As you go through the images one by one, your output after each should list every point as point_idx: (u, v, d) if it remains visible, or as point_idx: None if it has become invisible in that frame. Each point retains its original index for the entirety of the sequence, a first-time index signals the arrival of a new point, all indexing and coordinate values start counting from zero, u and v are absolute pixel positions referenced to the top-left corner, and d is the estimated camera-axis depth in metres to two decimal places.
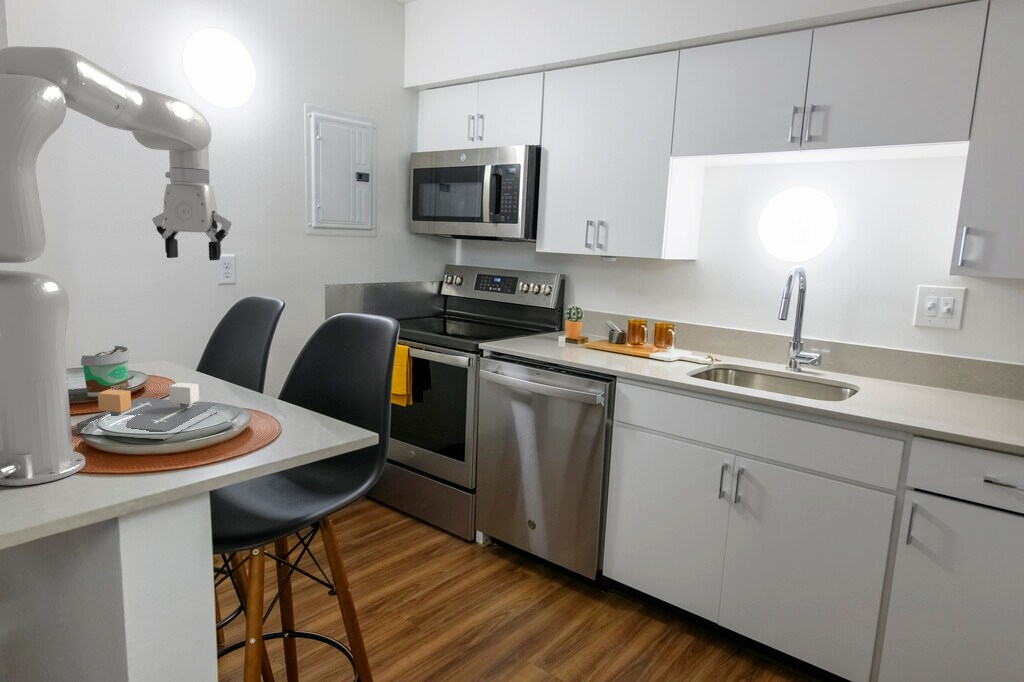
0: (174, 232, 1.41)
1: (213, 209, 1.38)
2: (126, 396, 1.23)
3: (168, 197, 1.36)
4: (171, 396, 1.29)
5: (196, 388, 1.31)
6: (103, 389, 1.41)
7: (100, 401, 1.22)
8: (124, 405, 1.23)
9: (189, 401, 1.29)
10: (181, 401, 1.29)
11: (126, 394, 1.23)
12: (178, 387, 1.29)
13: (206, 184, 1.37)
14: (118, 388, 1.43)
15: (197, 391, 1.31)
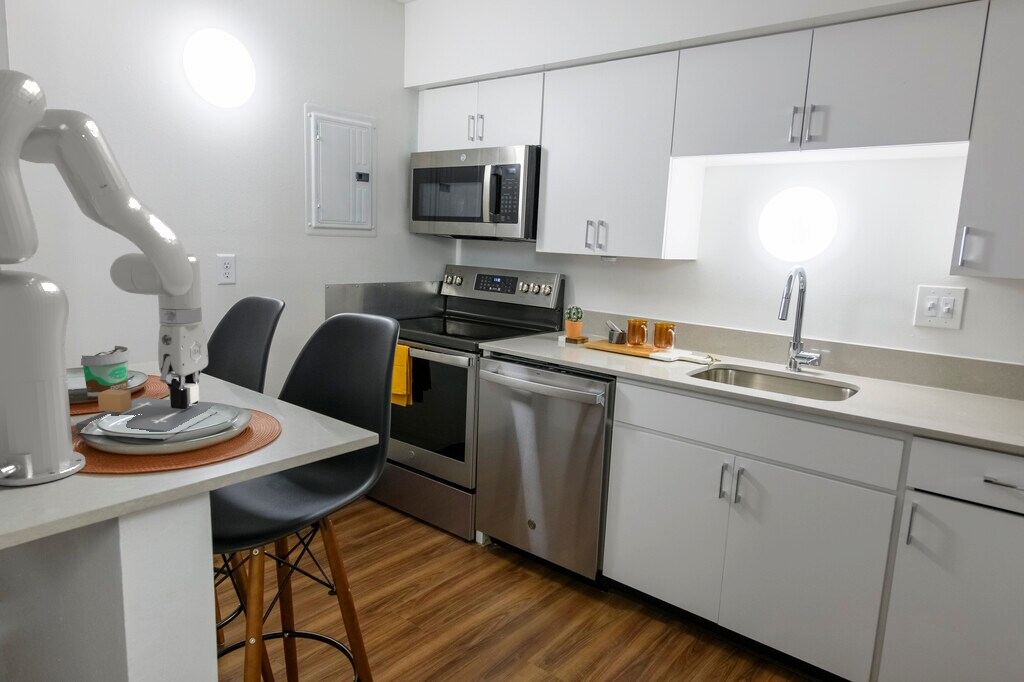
0: None
1: None
2: (126, 396, 1.23)
3: (184, 340, 1.25)
4: None
5: (196, 388, 1.31)
6: (103, 389, 1.41)
7: (100, 401, 1.22)
8: (124, 405, 1.23)
9: (189, 401, 1.29)
10: None
11: (126, 394, 1.23)
12: None
13: None
14: (118, 388, 1.43)
15: (197, 391, 1.31)
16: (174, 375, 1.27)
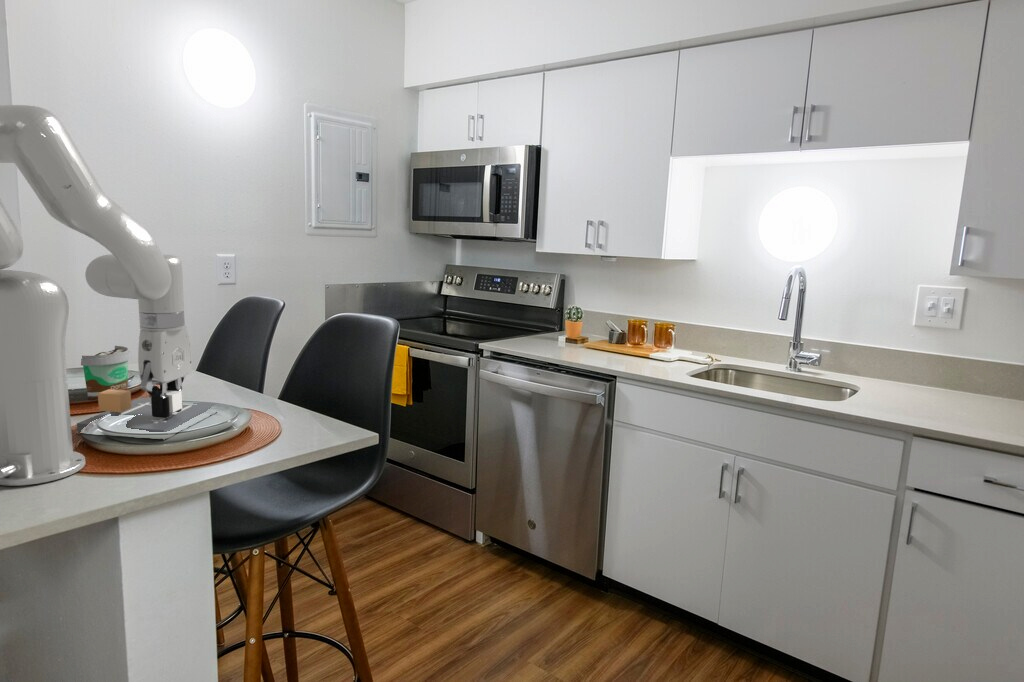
0: None
1: None
2: (126, 396, 1.23)
3: (165, 346, 1.19)
4: None
5: (178, 396, 1.25)
6: (103, 389, 1.41)
7: (100, 401, 1.22)
8: (124, 405, 1.23)
9: (171, 409, 1.23)
10: None
11: (126, 394, 1.23)
12: None
13: None
14: (118, 388, 1.43)
15: (180, 399, 1.25)
16: (155, 382, 1.21)
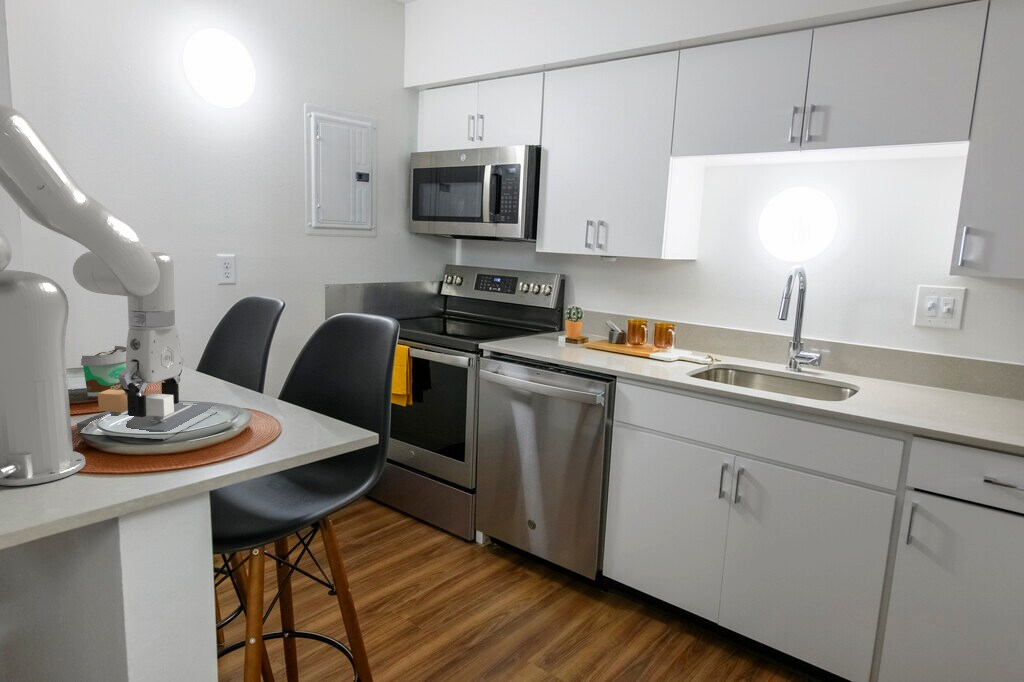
0: None
1: None
2: (126, 396, 1.23)
3: (154, 345, 1.16)
4: None
5: (170, 400, 1.22)
6: (103, 389, 1.41)
7: (100, 401, 1.22)
8: (124, 405, 1.23)
9: (163, 413, 1.21)
10: (154, 413, 1.21)
11: None
12: (151, 398, 1.20)
13: None
14: (118, 388, 1.43)
15: (172, 402, 1.23)
16: (137, 379, 1.16)
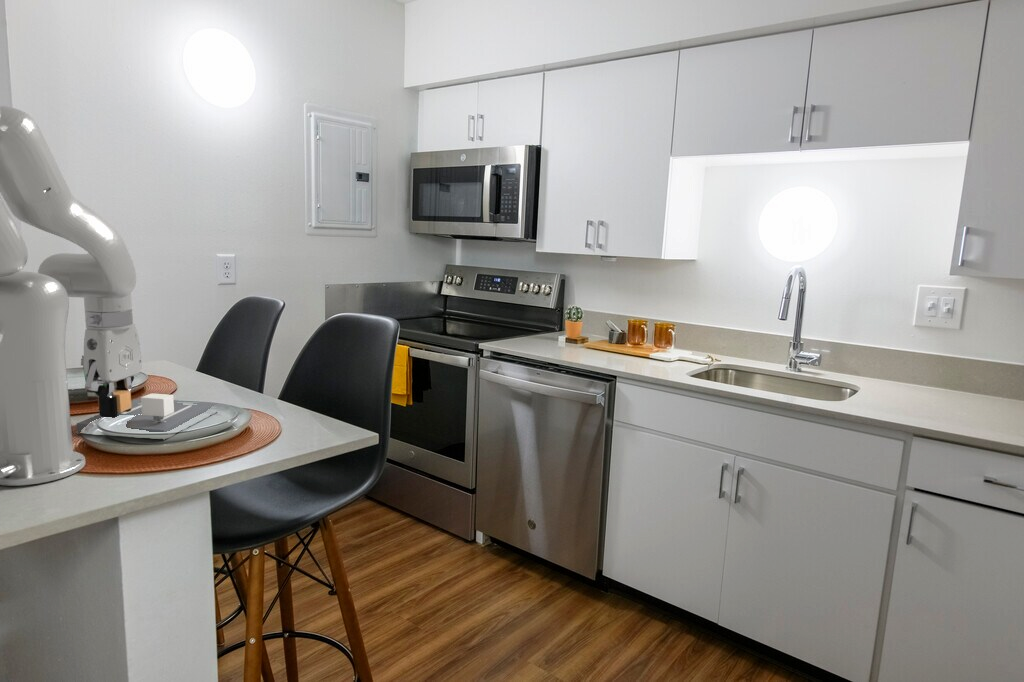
0: None
1: None
2: (126, 396, 1.23)
3: (111, 345, 1.18)
4: (143, 408, 1.21)
5: (170, 400, 1.22)
6: None
7: None
8: (124, 405, 1.23)
9: (163, 413, 1.21)
10: (154, 413, 1.21)
11: (126, 394, 1.23)
12: (151, 398, 1.20)
13: None
14: None
15: (172, 402, 1.23)
16: (102, 382, 1.20)
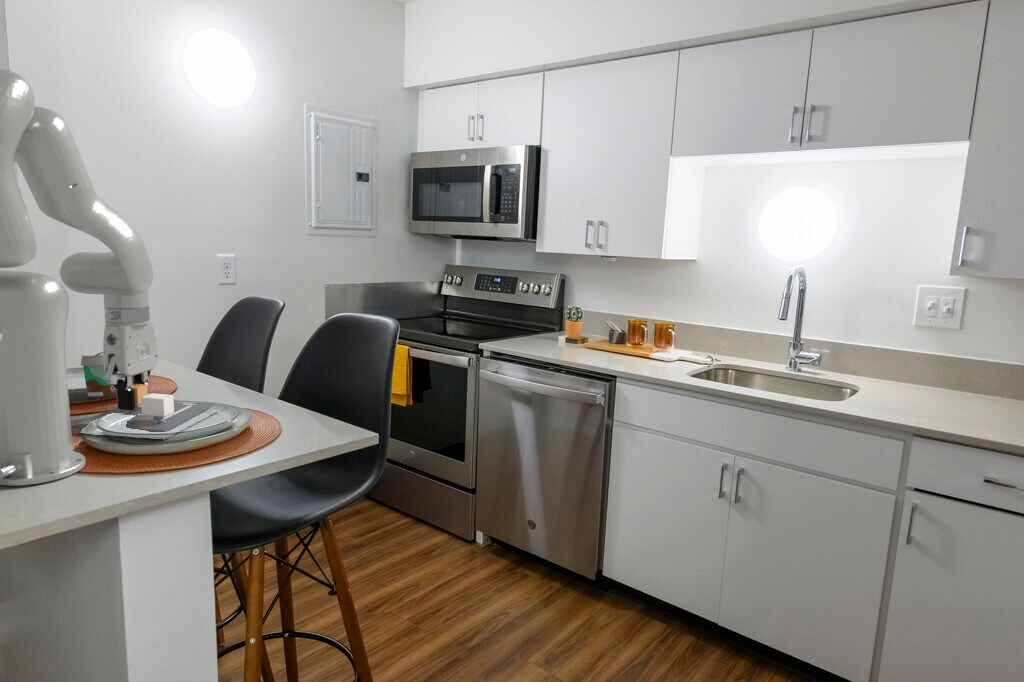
0: None
1: None
2: (143, 389, 1.28)
3: (130, 340, 1.23)
4: (143, 408, 1.21)
5: (170, 400, 1.22)
6: (103, 389, 1.41)
7: None
8: None
9: (163, 413, 1.21)
10: (154, 413, 1.21)
11: (143, 387, 1.28)
12: (151, 398, 1.20)
13: None
14: None
15: (172, 402, 1.23)
16: (120, 375, 1.25)
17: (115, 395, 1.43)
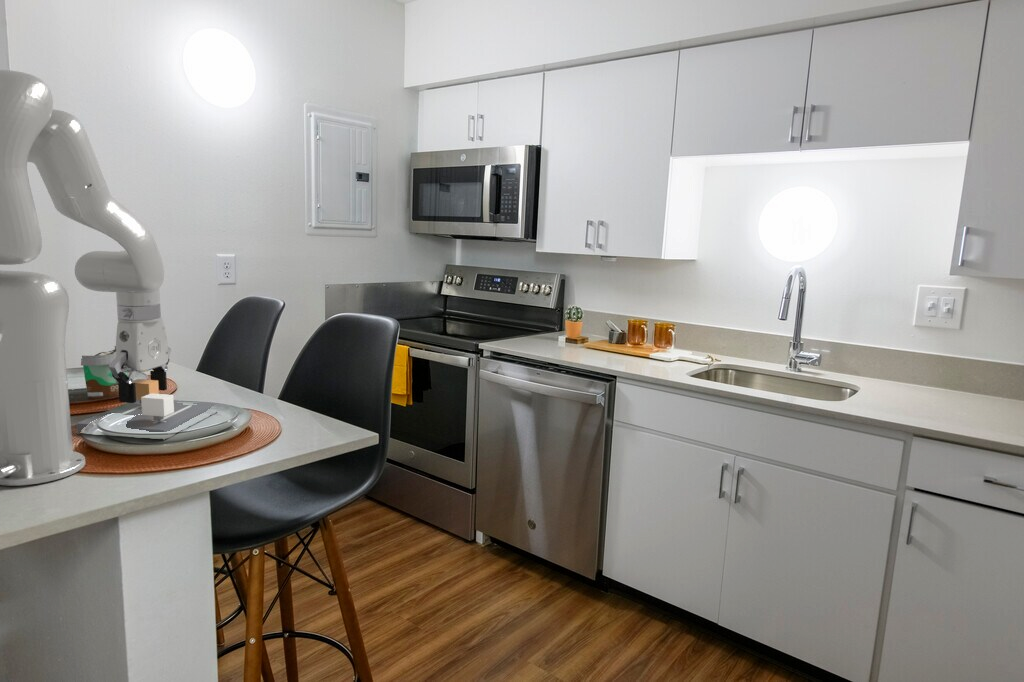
0: None
1: None
2: (154, 385, 1.31)
3: (142, 337, 1.26)
4: (143, 408, 1.21)
5: (170, 400, 1.22)
6: (103, 389, 1.41)
7: None
8: None
9: (163, 413, 1.21)
10: (154, 413, 1.21)
11: (154, 383, 1.31)
12: (151, 398, 1.20)
13: None
14: None
15: (172, 402, 1.23)
16: (127, 368, 1.26)
17: (115, 395, 1.43)
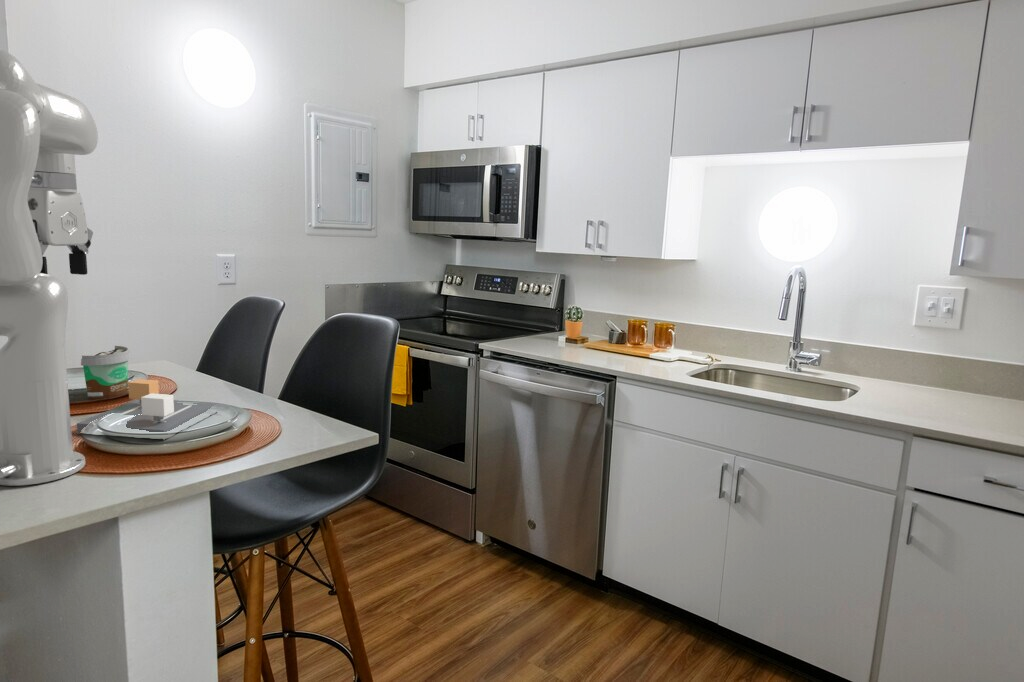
0: None
1: None
2: (154, 385, 1.31)
3: (53, 206, 1.16)
4: (143, 408, 1.21)
5: (170, 400, 1.22)
6: (103, 389, 1.41)
7: (130, 390, 1.30)
8: None
9: (163, 413, 1.21)
10: (154, 413, 1.21)
11: (154, 383, 1.31)
12: (151, 398, 1.20)
13: None
14: (118, 388, 1.43)
15: (172, 402, 1.23)
16: None
17: (115, 395, 1.43)
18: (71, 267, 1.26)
